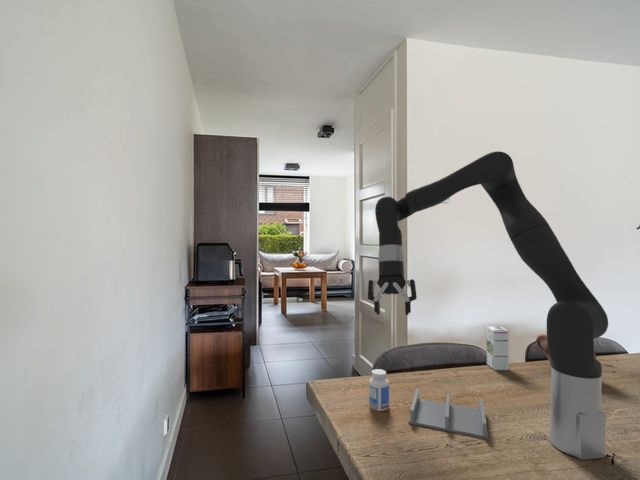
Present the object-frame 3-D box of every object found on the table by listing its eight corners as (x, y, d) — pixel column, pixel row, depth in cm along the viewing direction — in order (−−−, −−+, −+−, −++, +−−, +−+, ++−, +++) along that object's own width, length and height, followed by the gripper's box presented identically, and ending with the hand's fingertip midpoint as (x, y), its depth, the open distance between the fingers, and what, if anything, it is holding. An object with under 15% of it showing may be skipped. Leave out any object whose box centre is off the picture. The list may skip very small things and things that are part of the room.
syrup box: (509, 370, 126) (509, 330, 126) (492, 370, 126) (493, 329, 126) (501, 364, 132) (501, 326, 132) (485, 364, 132) (486, 325, 132)
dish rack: (414, 400, 102) (414, 387, 102) (483, 412, 95) (484, 399, 95) (408, 423, 89) (408, 409, 89) (488, 439, 82) (488, 424, 82)
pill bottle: (388, 402, 100) (388, 368, 100) (389, 412, 94) (390, 375, 94) (368, 401, 100) (369, 367, 100) (369, 410, 95) (369, 374, 95)
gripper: (415, 261, 109) (418, 315, 106) (370, 263, 114) (371, 314, 111) (413, 258, 102) (415, 315, 99) (365, 260, 107) (366, 314, 104)
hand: (392, 314), depth 105 cm, fingers open, 8 cm apart
